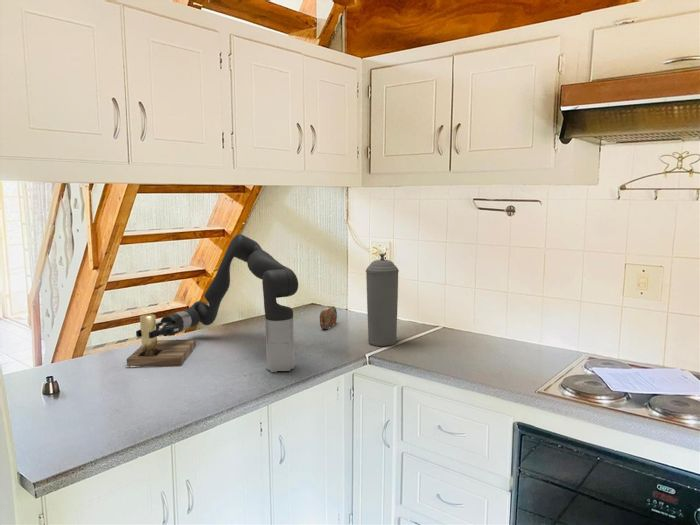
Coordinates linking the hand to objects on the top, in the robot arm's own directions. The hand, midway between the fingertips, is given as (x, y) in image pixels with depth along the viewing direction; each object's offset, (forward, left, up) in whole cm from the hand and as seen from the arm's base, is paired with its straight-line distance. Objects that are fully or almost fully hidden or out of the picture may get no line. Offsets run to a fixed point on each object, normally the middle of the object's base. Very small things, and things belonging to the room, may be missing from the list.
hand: (143, 334), depth 175 cm
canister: (+15, -85, -10) cm, 87 cm away
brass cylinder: (+2, -1, -9) cm, 9 cm away
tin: (+42, -65, -11) cm, 78 cm away
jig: (+7, -4, -10) cm, 13 cm away
